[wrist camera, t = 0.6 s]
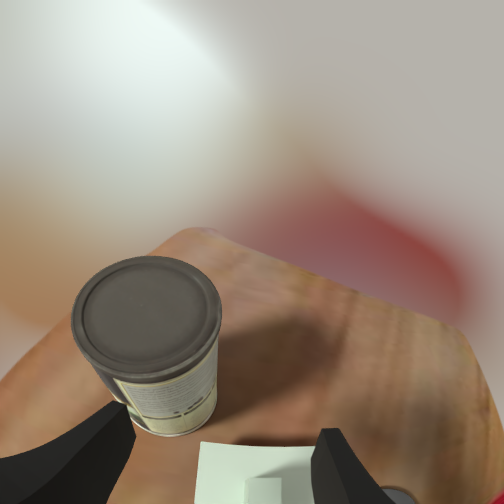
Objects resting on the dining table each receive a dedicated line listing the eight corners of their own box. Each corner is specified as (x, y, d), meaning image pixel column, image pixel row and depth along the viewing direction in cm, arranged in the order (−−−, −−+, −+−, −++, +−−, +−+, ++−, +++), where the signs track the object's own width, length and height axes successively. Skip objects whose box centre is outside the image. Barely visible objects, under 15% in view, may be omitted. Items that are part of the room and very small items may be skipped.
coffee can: (107, 415, 22) (43, 338, 13) (143, 341, 30) (117, 243, 21) (203, 451, 21) (193, 401, 12) (228, 366, 29) (238, 271, 21)
